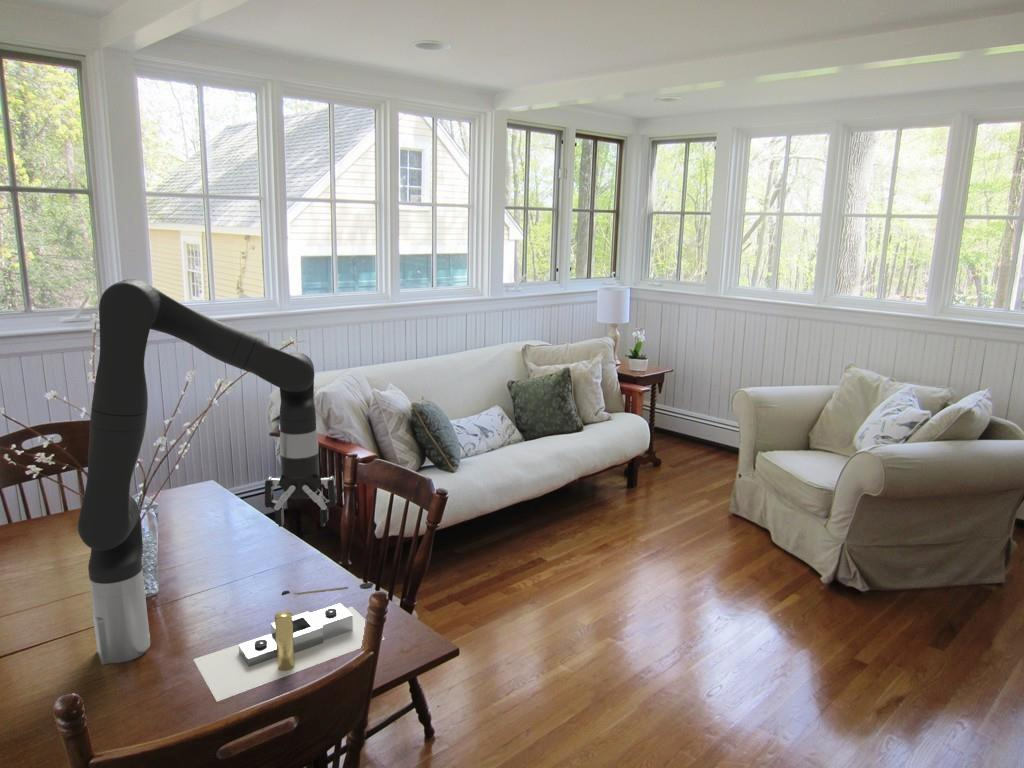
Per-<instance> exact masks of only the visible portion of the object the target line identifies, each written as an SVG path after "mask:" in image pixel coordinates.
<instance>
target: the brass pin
mask: <svg viewBox="0 0 1024 768" xmlns="http://www.w3.org/2000/svg"><path fill="white" fill-rule="evenodd" d="M292 617H293V613H292V612H291V611H288V610H282V611H279V612H277V613H275V614H274V622H275V631H276V647H277V662H278V669H279V670H281V671H288V670H291V669H293V668H294V666H295V657H294V641H293V624H292Z"/></svg>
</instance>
